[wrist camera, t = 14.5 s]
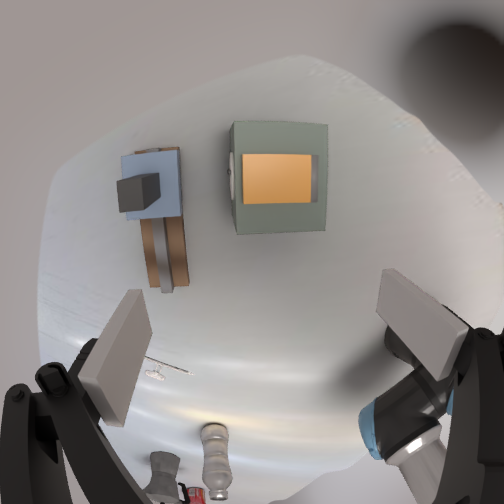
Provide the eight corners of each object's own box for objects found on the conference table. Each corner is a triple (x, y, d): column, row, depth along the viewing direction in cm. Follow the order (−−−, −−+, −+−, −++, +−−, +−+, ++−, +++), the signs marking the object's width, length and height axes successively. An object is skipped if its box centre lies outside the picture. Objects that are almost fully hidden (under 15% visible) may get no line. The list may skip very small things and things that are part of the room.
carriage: (184, 209, 36) (169, 234, 25) (135, 213, 35) (103, 239, 24) (180, 150, 33) (163, 148, 22) (130, 156, 32) (93, 158, 21)
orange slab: (315, 200, 29) (319, 202, 28) (242, 202, 28) (243, 204, 27) (316, 155, 27) (320, 155, 26) (241, 154, 27) (242, 154, 25)
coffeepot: (138, 453, 59) (132, 502, 42) (152, 445, 57) (147, 499, 40) (182, 469, 63) (181, 515, 47) (198, 462, 62) (200, 511, 45)
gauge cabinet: (300, 212, 40) (325, 230, 31) (227, 215, 39) (231, 235, 29) (301, 131, 36) (327, 124, 26) (225, 130, 35) (228, 121, 25)
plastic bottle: (195, 429, 55) (196, 499, 36) (210, 417, 54) (213, 492, 35) (218, 436, 57) (223, 503, 38) (233, 425, 56) (241, 496, 37)
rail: (189, 281, 42) (187, 292, 38) (152, 283, 41) (147, 293, 38) (179, 147, 35) (175, 146, 31) (137, 151, 34) (130, 151, 31)
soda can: (196, 492, 73) (197, 517, 61) (182, 488, 70) (182, 513, 59) (208, 489, 72) (210, 514, 60) (194, 485, 69) (195, 511, 58)
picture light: (195, 372, 49) (194, 379, 47) (187, 384, 50) (187, 392, 48) (126, 346, 45) (123, 354, 43) (122, 361, 46) (119, 368, 44)
